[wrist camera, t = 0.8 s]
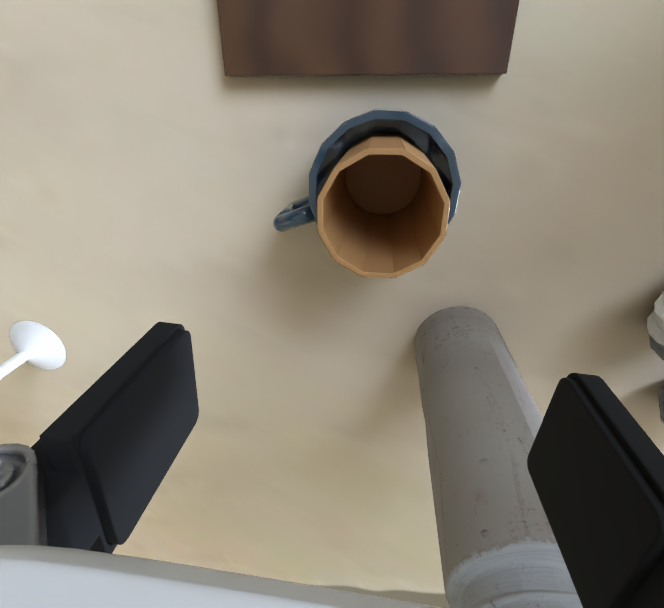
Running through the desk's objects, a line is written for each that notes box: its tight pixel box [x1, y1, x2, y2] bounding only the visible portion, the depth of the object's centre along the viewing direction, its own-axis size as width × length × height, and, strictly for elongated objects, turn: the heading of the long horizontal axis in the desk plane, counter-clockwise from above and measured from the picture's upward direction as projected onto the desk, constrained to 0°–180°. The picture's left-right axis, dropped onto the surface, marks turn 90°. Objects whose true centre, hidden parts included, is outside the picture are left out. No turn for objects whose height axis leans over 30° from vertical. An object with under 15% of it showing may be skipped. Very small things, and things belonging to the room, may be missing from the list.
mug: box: [273, 109, 461, 232], centre depth 29 cm, size 13×10×8 cm
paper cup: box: [317, 131, 450, 278], centre depth 26 cm, size 7×7×13 cm
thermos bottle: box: [415, 307, 583, 608], centre depth 26 cm, size 8×8×28 cm
